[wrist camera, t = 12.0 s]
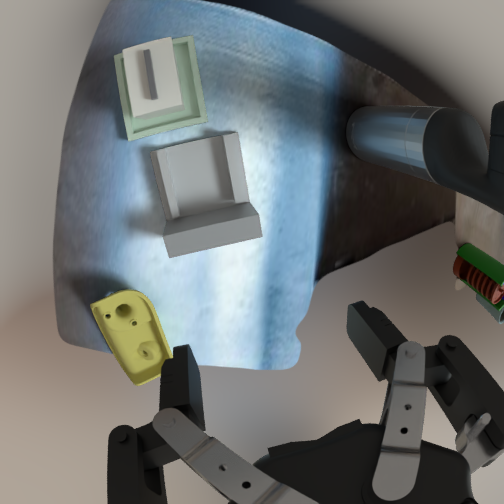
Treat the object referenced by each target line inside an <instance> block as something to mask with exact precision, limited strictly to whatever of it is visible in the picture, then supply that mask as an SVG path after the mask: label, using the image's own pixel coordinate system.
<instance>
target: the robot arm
mask: <svg viewBox="0 0 504 504" xmlns="http://www.w3.org/2000/svg"><path fill="white" fill-rule="evenodd" d="M490 135H491V137H490V146H489V155H488V151H487V147H486V143H485V139H484V135H483V132H482V130H481V128H480V126H479V124H478V123H477V121H476V120H475V119H474V117H473V116H472V115H470V114H469V113H468V112H466V111H463V110H460V109H455V108H441V107H422V106H365V107H361V108H359V109H357V110H356V111H355V112H354V113H352V115H351V116H350V118H349V120H348V123H347V127H346V137H347V142H348V145H349V147H350V149H351V151H352V152H353V153H354V154H355V155H356V156H357V157H358V158H360V159H361V160H364V161H367V162H370V163H374V164H377V165H380V166H384V167H387V168H391V169H394V170H397V171H400V172H403V173H407V174H410V175H413V176H416V177H419V178H422V179H425V180H428V181H431V182H433V183H436V184H439V185H441V186H444V187H447V188H449V189H452V190H454V191H457V192H459V193H461V194H464V195H466V196H468V197H471V198H473V199H475V200H477V201H479V202H481V203H483V204H485V205H487V206H489V207H490V208H492V209H494V210H496V211H497V212H499V213H501V214H503V215H504V101H501V102H498V103H496V104H495V105H494V107H493V109H492V115H491V130H490ZM347 333H348V336H349V338H350V339H351V341H352V342H353V344H354V345H355V347H356V348H357V350H358V351H359V353H360V354H361V356H362V357H363V359H364V360H365V362H366V363H367V365H368V366H369V368H370V369H371V371H372V372H373V373H374V375H375V377H376V378H377V380H378V381H382V380H384V379H387V381H388V386H387V391H386V397H385V401H384V406H383V411H382V415H381V419H380V422H379V424H371V423H369V424H362V423H361V422H360V420H359V419H358V420H355V421H353V422H350V423H348V424H345V425H342V426H339V427H337V428H336V429H334V430H333V431H331V432H329V433H328V434H326V435H325V436H323V437H321V438H319V439H317V440H311V441H299V442H290V443H286V444H282V445H278V446H275V447H270V448H268V451H269V454H267V455H265V456H263V457H262V458H260V459H259V460H257V461H256V462H255V463H254V464H253V465H251V464H250V463H248V462H247V461H246V460H244V459H243V458H241V457H240V456H239V455H237V454H236V453H234V452H233V451H232V450H230V449H229V448H228V447H226V446H225V445H224V444H222V443H221V442H220V441H218V440H217V439H216V438H214V437H210V436H208V435H207V434H206V433H204V432H203V431H205V420H204V411H203V401H202V391H201V381H200V380H201V379H200V372H199V368H198V365H197V363H196V360H195V358H194V355H193V353H192V350H191V348H190V346H189V344H187V345H182V346H176V347H174V348H173V358H169V359H165V361H164V363H163V365H162V367H161V379H160V381H161V382H160V383H161V385H160V403H159V412H158V413H157V414H156V415H155V416H154V419H153V421H152V422H150V423H149V424H147V425H144V426H141V427H139V428H136V429H134V428H133V427H131V426H129V425H121V426H118V427H116V428H114V429H113V430H112V431H111V433H110V435H109V440H108V464H107V494H108V495H107V496H108V497H107V498H108V504H167V496H166V489H165V482H164V472H163V465H165V464H167V463H170V462H173V461H175V460H177V459H181V460H183V461H184V462H185V463H186V464H187V465H188V466H189V467H190V468H191V469H192V470H193V471H194V472H195V473H197V474H198V475H199V476H200V477H201V478H202V479H203V480H205V481H206V482H207V483H208V484H209V485H210V486H211V487H213V488H214V489H215V490H216V491H217V492H218V493H220V494H221V495H222V496H223V497H225V498H226V499H227V500H229V503H228V504H478V503H477V502H476V501H475V499H474V497H473V494H472V489H471V474H472V473H473V472H475V471H476V470H477V469H479V468H480V467H485V466H488V465H489V464H491V463H492V462H493V461H494V460H495V459H496V458H498V457H499V456H500V455H501V454H502V453H503V452H504V391H503V390H502V389H501V387H500V386H499V385H498V384H497V382H496V381H495V380H494V379H493V378H492V376H491V375H490V374H489V372H488V371H487V370H486V369H485V368H484V366H483V365H482V364H481V363H480V362H479V360H478V359H477V358H476V357H475V356H474V354H472V352H471V351H470V350H469V349H468V348H467V346H466V345H465V344H464V343H463V342H462V341H461V340H460V339H459V338H458V337H456V336H452V335H447V336H444V337H442V338H441V339H440V341H439V343H438V345H435V346H428V347H423V346H422V345H421V344H419V343H417V342H413V341H408V340H407V339H406V338H405V337H404V336H403V335H402V333H401V332H400V331H399V330H398V329H397V328H396V327H395V325H394V324H392V322H391V321H390V320H389V319H388V318H387V316H386V315H385V314H384V313H383V312H382V311H380V310H378V309H377V308H374V307H372V308H369V307H368V305H367V304H366V303H365V302H364V301H359V302H356V303H353V304H350V305H348V313H347ZM427 387H428V389H429V390H430V392H431V393H432V395H433V396H434V398H435V399H436V401H437V402H438V404H439V405H440V407H441V408H442V410H443V411H444V413H445V415H446V416H447V418H448V419H449V421H450V423H451V424H452V426H453V427H454V429H455V431H456V432H457V435H456V439H455V443H456V449H457V451H458V452H457V451H454V450H451V449H448V448H445V447H442V446H439V445H436V444H433V443H430V442H427V441H424V440H421V437H422V430H423V423H424V414H425V404H426V391H427Z"/></svg>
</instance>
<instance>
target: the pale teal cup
mask: <svg viewBox="0 0 504 504" xmlns="http://www.w3.org/2000/svg"><path fill="white" fill-rule="evenodd" d="M476 299H477V301H478V302H479V303H480V304H481V305H482V306H483V307H484V308H485V309H486V310H487V311H488V312H489V313H491V315H492V316H493V317H494V318H495V320H496V321H497V322H498V323H499V324H502V323H504V307H503V308H502V309H501V310H500V311H498V310H497V309H496V308H494V307H493V306H492V305H491V304H490V303H488V302H487V301H486V300H485V299H484V298H483V297H481V296H480V295H479V294H478V293H477V295H476Z"/></svg>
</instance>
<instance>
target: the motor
mask: <svg viewBox="0 0 504 504" xmlns="http://www.w3.org/2000/svg"><path fill="white" fill-rule="evenodd" d="M457 255H458V256H457V258H456V260H455V262H454V266H453V272H454V274H455V275H456V276H457V277H458V278H459V279H460V280H461V281H463V282H464V283H465V284H466V285H468V286H469V287H470V288H472V289H473V290H474V291H475V292H476V293H478V294H479V295H480V296H481V297H483V298H484V299H485V300H486V301H487V302H488V303H490V304H491V305H492V306H493V307H494V308H496V309H497V310H498V311H500V310H501V309H502V308H503V307H504V265H503V264H501V263H500V262H498V261H497V260H495V259H494V258H492V257H491V256H489V255H488V254H486V253H485V252H483V251H482V250H480V249H478V248H477V247H475V246H474V245H472V244H470V243H467V244H464V245H463V246H462V247H461V248H460V249H459V250H458V251H457ZM462 262H463V263H462Z"/></svg>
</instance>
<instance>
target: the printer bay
mask: <svg viewBox="0 0 504 504" xmlns="http://www.w3.org/2000/svg"><path fill="white" fill-rule="evenodd" d="M150 155H151V160H152V164H153V169H154V173H155V177H156V181H157V185H158V189H159V193H160V197H161V201H162V205H163V209H164V213H165V216H166V220H167V222H166V226H165V230H164V233H163V239H164V242H165V246H166V249H167V252H168V256H169V258H172V257H176V256H181V255H185V254H189V253H194V252H198V251H202V250H207V249H211V248H215V247H220V246H224V245H229V244H233V243H237V242H242V241H246V240H251V239H255V238H260V237H262V230H261V224H260V218H259V214H258V212H257V211H256V210H255V208H254V207H253V206H252V204H251V203H250V200H249V194H248V188H247V182H246V176H245V170H244V165H243V159H242V153H241V147H240V141H239V135H238V132H236V133H231V134H225V135H220V136H215V137H210V138H205V139H200V140H196V141H191V142H187V143H182V144H178V145H174V146H170V147H166V148H162V149H158V150H154V151H151V152H150Z"/></svg>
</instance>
